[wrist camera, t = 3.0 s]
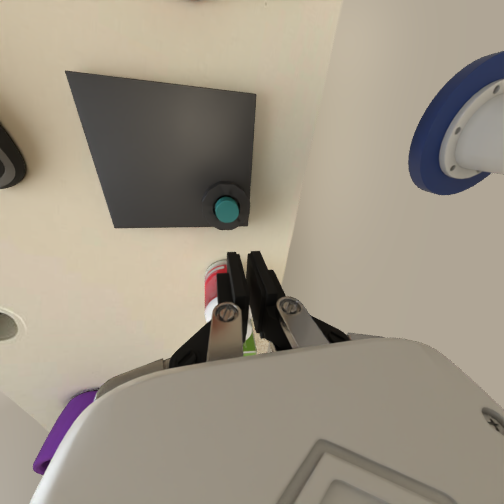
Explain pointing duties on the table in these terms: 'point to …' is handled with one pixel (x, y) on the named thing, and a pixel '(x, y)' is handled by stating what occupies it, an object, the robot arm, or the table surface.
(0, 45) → the table surface
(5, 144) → the computer mouse
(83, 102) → the scale
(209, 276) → the pill bottle
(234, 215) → the button
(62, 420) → the mug
